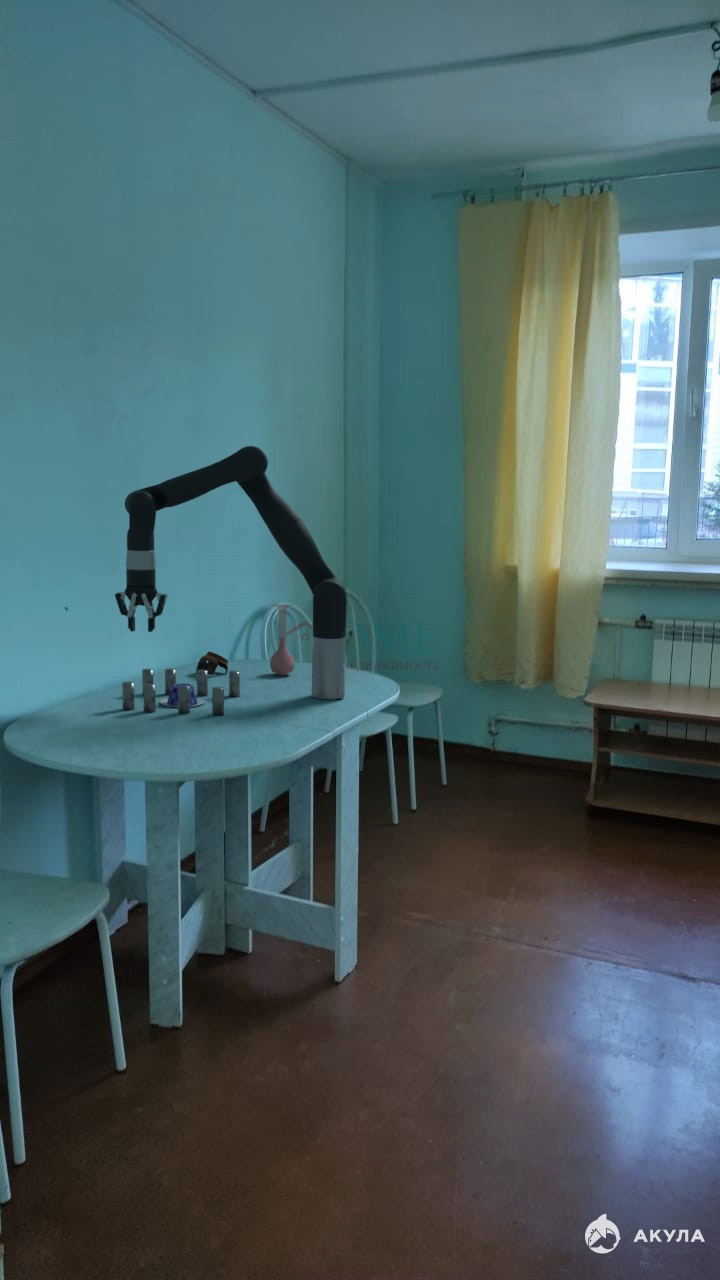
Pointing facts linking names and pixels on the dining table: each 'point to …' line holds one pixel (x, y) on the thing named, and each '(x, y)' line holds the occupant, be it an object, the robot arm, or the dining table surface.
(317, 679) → the robot arm
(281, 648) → the perfume bottle
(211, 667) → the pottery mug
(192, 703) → the pudding
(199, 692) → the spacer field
